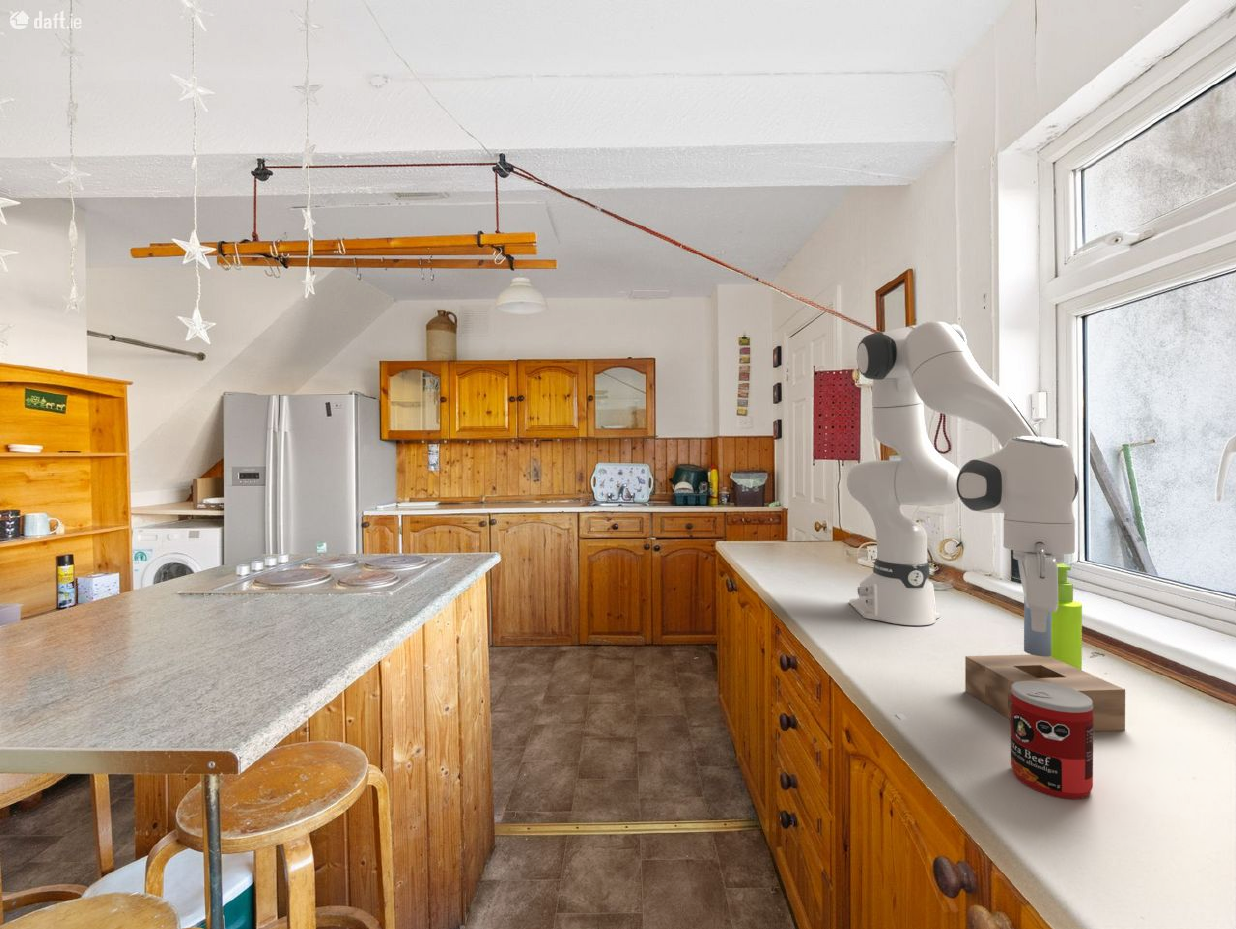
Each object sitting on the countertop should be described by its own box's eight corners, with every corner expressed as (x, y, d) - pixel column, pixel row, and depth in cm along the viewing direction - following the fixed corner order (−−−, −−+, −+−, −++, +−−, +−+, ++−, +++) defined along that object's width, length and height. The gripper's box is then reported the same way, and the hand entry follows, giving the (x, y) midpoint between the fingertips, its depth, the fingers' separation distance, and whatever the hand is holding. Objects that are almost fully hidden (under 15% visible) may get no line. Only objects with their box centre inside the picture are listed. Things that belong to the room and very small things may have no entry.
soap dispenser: (1069, 666, 102) (1070, 561, 101) (1088, 680, 95) (1088, 568, 95) (1032, 662, 104) (1033, 559, 103) (1048, 676, 97) (1048, 566, 97)
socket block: (965, 691, 91) (965, 656, 91) (1044, 688, 92) (1044, 654, 92) (1032, 733, 77) (1032, 692, 77) (1124, 730, 78) (1125, 689, 78)
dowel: (1018, 649, 86) (1018, 581, 86) (1035, 648, 86) (1036, 580, 86) (1039, 657, 82) (1039, 585, 82) (1056, 655, 83) (1057, 584, 83)
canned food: (995, 765, 70) (995, 681, 69) (1052, 761, 70) (1052, 678, 70) (1047, 803, 62) (1047, 708, 62) (1111, 798, 63) (1111, 705, 63)
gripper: (1071, 549, 74) (1071, 649, 74) (1057, 533, 91) (1057, 615, 91) (1014, 545, 78) (1014, 640, 78) (1011, 530, 94) (1011, 609, 94)
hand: (1037, 626), depth 84 cm, fingers closed on dowel, 3 cm apart
